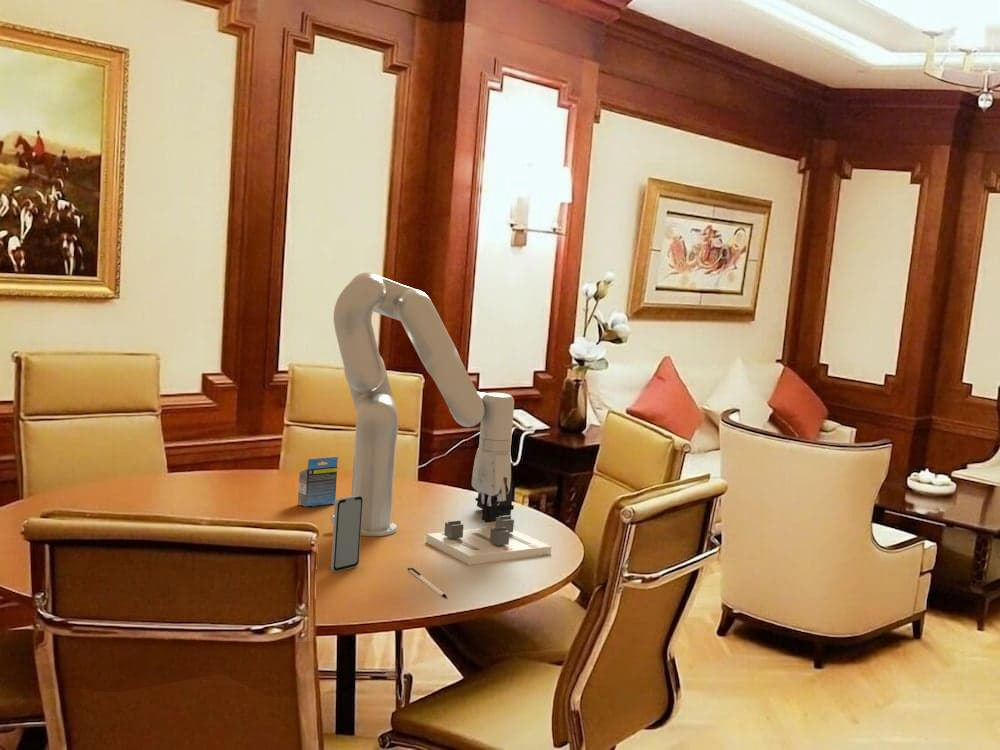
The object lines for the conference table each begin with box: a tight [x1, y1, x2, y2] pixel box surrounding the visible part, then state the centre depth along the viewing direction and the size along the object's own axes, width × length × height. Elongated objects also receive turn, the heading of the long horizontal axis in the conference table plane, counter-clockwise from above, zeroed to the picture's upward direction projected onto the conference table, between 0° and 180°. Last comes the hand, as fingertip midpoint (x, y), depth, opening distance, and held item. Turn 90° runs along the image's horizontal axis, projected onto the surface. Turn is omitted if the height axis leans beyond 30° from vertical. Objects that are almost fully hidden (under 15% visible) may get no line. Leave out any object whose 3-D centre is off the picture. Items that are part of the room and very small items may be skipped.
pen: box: [407, 567, 448, 600], centre depth 203 cm, size 1×19×1 cm, turn 28°
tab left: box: [443, 519, 464, 539], centre depth 230 cm, size 3×3×4 cm
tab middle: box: [490, 527, 510, 546], centre depth 227 cm, size 3×3×4 cm
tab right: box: [494, 515, 515, 533], centre depth 238 cm, size 3×3×4 cm
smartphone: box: [330, 495, 363, 573], centre depth 207 cm, size 7×1×15 cm, turn 142°
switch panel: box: [425, 526, 552, 566], centre depth 231 cm, size 22×18×2 cm
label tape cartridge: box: [297, 456, 339, 508], centre depth 258 cm, size 9×4×12 cm, turn 132°
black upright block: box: [474, 462, 516, 517], centre depth 262 cm, size 4×13×15 cm, turn 38°
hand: (488, 520), depth 243 cm, fingers closed
